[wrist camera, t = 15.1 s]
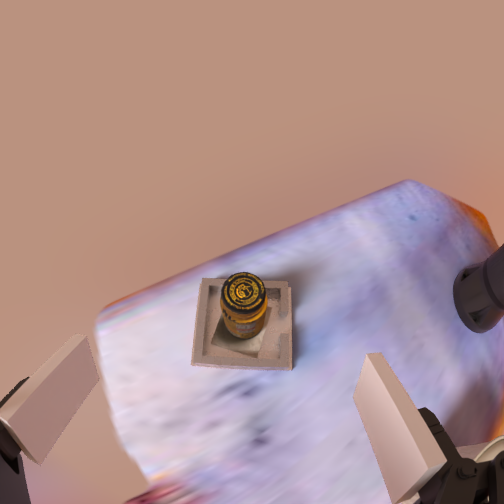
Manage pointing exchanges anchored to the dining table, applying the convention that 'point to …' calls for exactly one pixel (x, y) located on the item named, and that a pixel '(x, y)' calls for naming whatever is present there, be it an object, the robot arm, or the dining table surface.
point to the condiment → (242, 314)
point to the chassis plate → (274, 341)
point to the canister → (475, 455)
